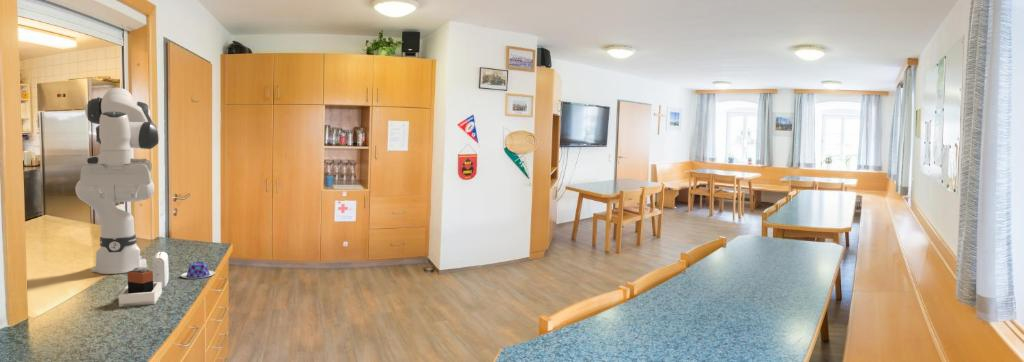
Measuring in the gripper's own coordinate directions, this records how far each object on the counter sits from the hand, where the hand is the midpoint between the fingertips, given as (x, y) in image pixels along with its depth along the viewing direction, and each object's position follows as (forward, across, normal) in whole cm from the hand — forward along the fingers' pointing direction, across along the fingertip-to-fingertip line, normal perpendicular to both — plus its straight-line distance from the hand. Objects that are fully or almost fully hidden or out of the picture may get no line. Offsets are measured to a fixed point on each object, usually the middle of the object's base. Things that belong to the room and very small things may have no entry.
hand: (117, 197), depth 191 cm
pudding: (+35, -22, -18) cm, 45 cm away
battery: (+33, -8, +11) cm, 36 cm away
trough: (+34, -8, +11) cm, 37 cm away
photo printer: (+34, -11, -7) cm, 37 cm away
